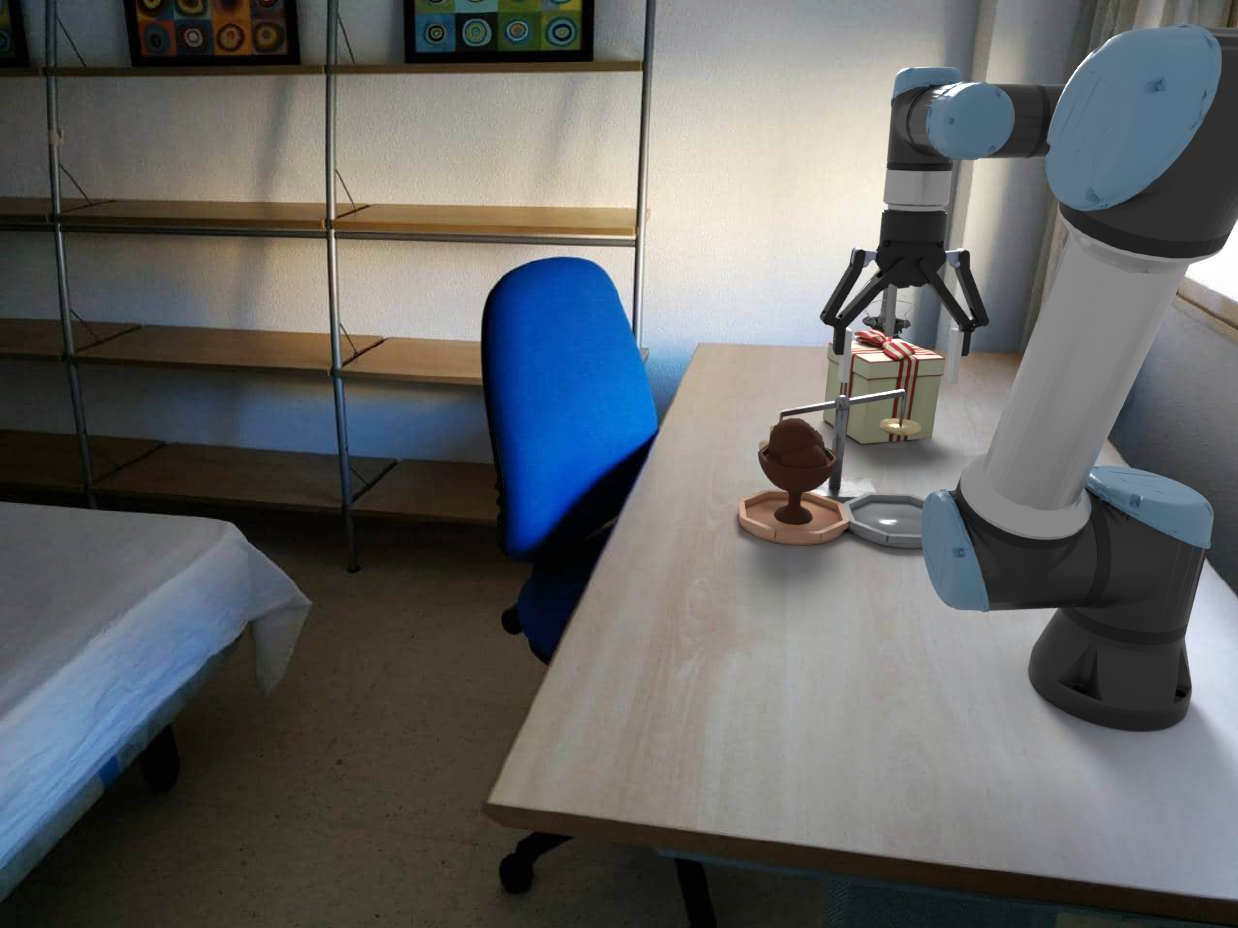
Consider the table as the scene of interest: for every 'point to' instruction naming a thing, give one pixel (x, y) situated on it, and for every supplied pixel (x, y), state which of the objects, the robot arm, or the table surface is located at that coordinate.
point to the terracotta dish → (763, 524)
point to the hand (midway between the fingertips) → (897, 381)
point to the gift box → (885, 386)
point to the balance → (835, 484)
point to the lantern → (887, 314)
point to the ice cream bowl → (796, 465)
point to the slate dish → (887, 519)
